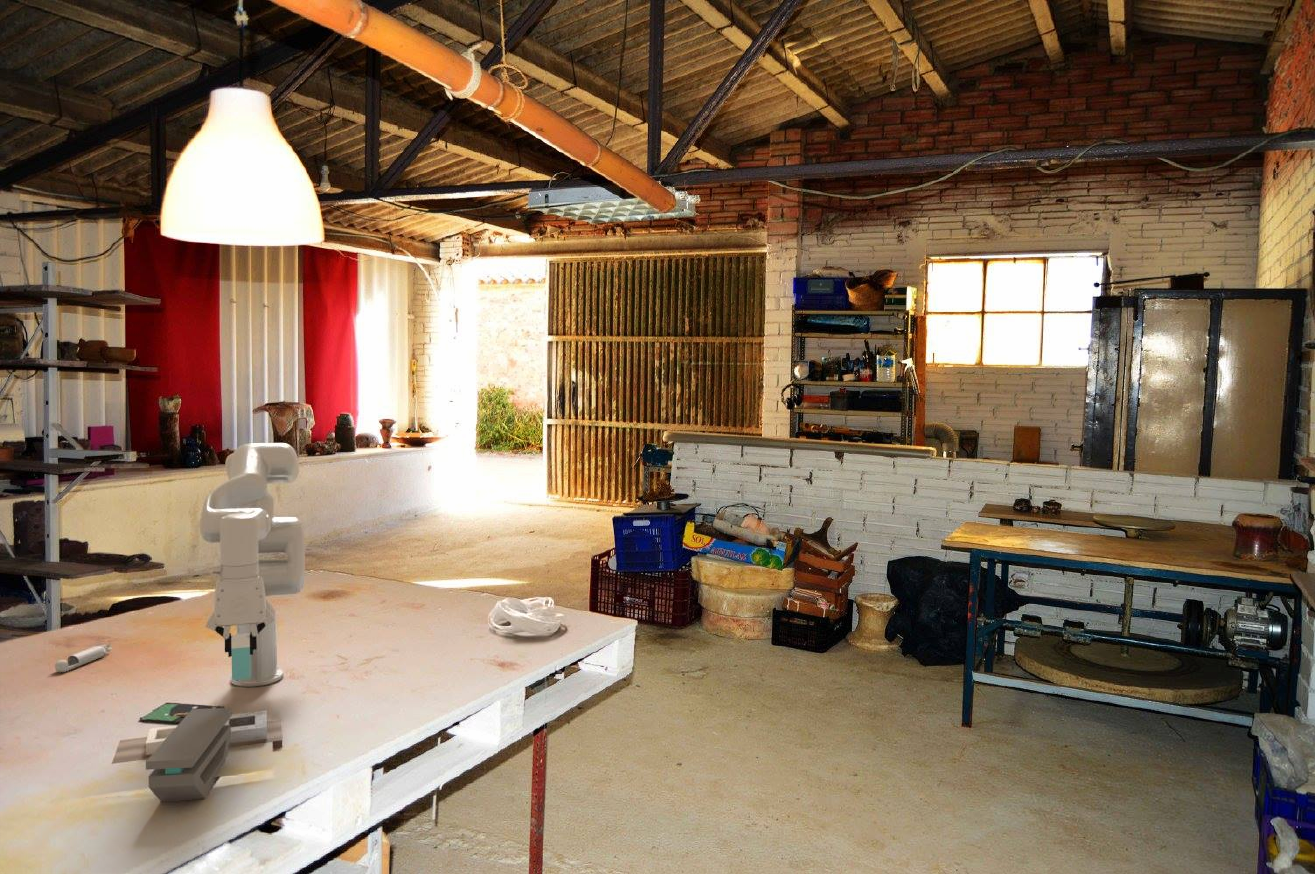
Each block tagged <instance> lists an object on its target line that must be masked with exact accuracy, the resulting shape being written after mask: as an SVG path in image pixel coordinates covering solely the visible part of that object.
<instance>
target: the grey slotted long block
mask: <svg viewBox="0 0 1315 874" xmlns="http://www.w3.org/2000/svg"><path fill="white" fill-rule="evenodd" d="M232 715H233V707H224V708H211V709H192V710H191V711H190V712H189V713H188V714H187V716H186V717H185V718H184V719H183V720H182V721H181V722H180V723H179V725H178V724H177V725H178V726H177V727H176V728H175V729H174V730H173V731H172V732H171V734H170V735H169V736H168V737H167V738H166V739H165V740H164V742H163V743H162V744H161V745H160V746H159V747H158V748H157V749H156V751H155V752H154V753H153V754H152V755H151V756H150V757H149V758H148V759H146V761H145V770H147V771H149V770H152V772H151V773H150V774H149V775H148V788H149V790H151V792H152V793H153V795H154V796H155V797H156V798H157V799H158V800H159V801H160V802H174V801H175V802H176V801H190V800H191V801H192V800H194V801H195V800H205V799H206V798H207V797H208V796H209V794H210V792H211V791H212V790H213V788H214V786H215V785H216V784H217V783H218V780H219V779H221V776H217V775H218V773H219V772H220V770H221V769H222V767H223V766H224V764H225V762H226V760H227V756H228V752H229V748H228V747H229V742H230V737H231V725H225V724H226V722H227V721H228V720H229V718H230V717H231V716H232Z"/></svg>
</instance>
